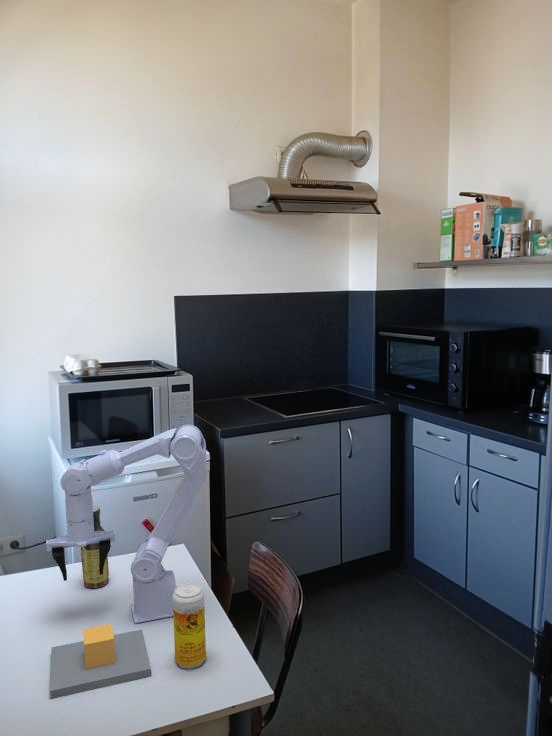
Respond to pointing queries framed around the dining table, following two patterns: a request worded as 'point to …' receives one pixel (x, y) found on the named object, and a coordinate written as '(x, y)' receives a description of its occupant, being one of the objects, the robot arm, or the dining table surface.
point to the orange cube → (99, 646)
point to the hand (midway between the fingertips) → (83, 575)
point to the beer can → (189, 625)
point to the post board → (76, 678)
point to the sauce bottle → (94, 559)
